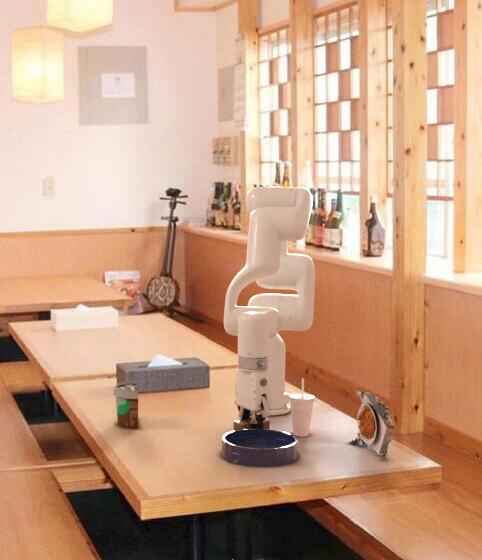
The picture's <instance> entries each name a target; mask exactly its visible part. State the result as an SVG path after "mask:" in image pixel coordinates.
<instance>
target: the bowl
mask: <svg viewBox="0 0 482 560" xmlns="http://www.w3.org/2000/svg"><path fill="white" fill-rule="evenodd" d="M298 441H299V440H298V437H297V436H295V435H294V434H292V433H289V432H286V431H282V430H279V429H271V428H270V429H241V430H235V431H234V430H231V431H229V432H226V433H224V434H223V435H222V437H221V453H222V457H223V458H224V460H226V461H228V462H230V463H233V464H237V465H241V466H248V467H257V468H259V467H260V468H263V467H264V468H265V467H266V468H267V467H269V468H270V467H280V466H284V465H285V466H286V465H288V464H291V463H293V462H295V461H296V460H297V459H298V446H299V445H298V443H299V442H298Z"/></svg>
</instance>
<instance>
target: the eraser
mask: <svg viewBox="0 0 482 560" xmlns="http://www.w3.org/2000/svg"><path fill="white" fill-rule="evenodd" d="M251 423H253V418H252V419H245V420H240V419H239V420H233V431H235V430H241V429H251ZM270 427H271V420H269V419H267V418H266V419H265V422H264V423H263V429H271V428H270Z"/></svg>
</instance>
